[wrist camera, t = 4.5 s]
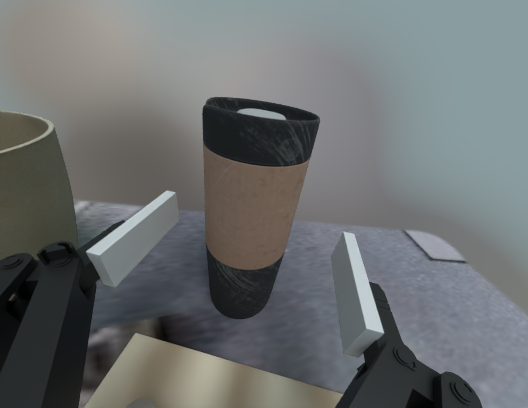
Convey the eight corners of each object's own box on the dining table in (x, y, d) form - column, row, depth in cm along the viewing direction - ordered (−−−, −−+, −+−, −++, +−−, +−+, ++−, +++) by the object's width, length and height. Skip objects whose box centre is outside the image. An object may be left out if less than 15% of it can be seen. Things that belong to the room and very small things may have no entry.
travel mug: (283, 285, 24) (338, 117, 13) (244, 339, 19) (284, 127, 8) (238, 254, 28) (252, 97, 17) (193, 292, 22) (171, 95, 11)
